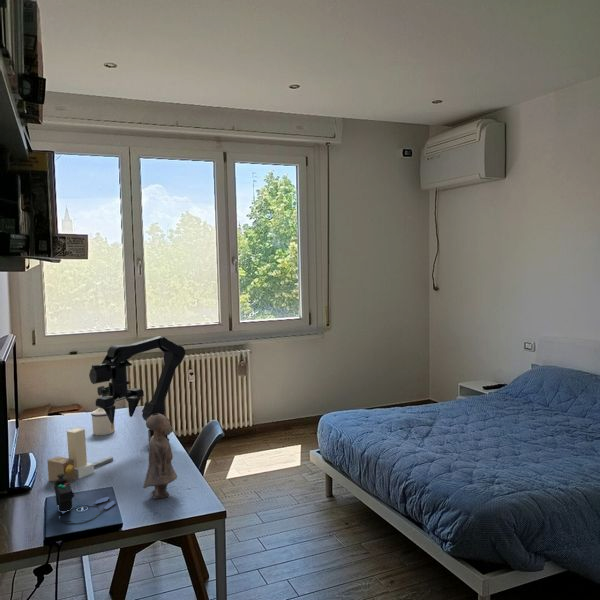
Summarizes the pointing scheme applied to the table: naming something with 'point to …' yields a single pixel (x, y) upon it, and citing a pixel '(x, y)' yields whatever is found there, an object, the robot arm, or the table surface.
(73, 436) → the cream block on base
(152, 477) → the clay figurine
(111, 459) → the brown block with rod
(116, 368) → the robot arm
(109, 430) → the teacup with lid
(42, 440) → the table surface
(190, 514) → the table surface
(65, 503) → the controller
